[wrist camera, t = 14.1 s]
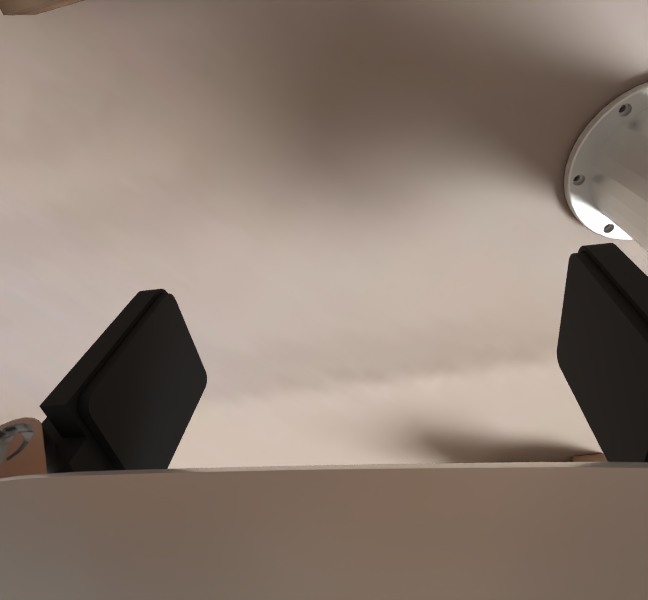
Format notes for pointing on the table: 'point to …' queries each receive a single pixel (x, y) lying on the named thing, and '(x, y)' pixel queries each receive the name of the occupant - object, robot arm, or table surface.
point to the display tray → (31, 6)
